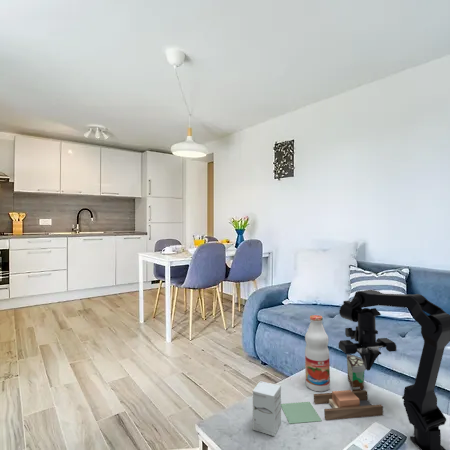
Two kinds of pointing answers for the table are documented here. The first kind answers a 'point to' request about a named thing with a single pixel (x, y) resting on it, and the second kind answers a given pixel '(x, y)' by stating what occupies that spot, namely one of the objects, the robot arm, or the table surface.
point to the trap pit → (364, 403)
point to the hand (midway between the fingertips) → (367, 369)
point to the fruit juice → (317, 356)
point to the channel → (348, 411)
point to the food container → (355, 372)
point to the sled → (344, 399)
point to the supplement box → (267, 408)
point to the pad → (300, 412)
